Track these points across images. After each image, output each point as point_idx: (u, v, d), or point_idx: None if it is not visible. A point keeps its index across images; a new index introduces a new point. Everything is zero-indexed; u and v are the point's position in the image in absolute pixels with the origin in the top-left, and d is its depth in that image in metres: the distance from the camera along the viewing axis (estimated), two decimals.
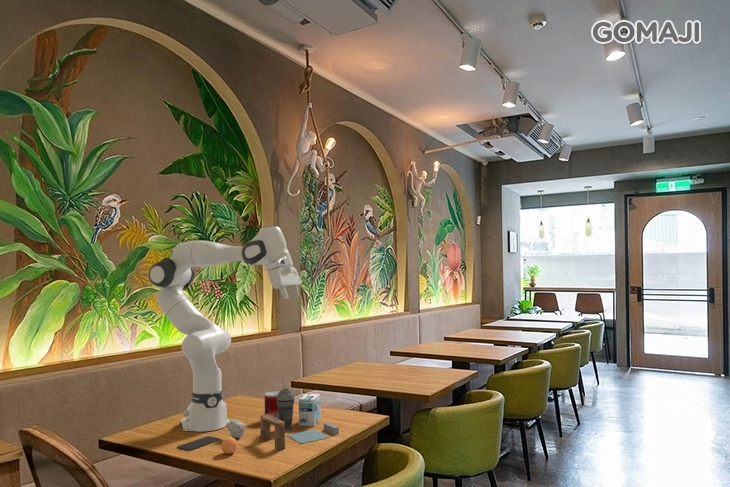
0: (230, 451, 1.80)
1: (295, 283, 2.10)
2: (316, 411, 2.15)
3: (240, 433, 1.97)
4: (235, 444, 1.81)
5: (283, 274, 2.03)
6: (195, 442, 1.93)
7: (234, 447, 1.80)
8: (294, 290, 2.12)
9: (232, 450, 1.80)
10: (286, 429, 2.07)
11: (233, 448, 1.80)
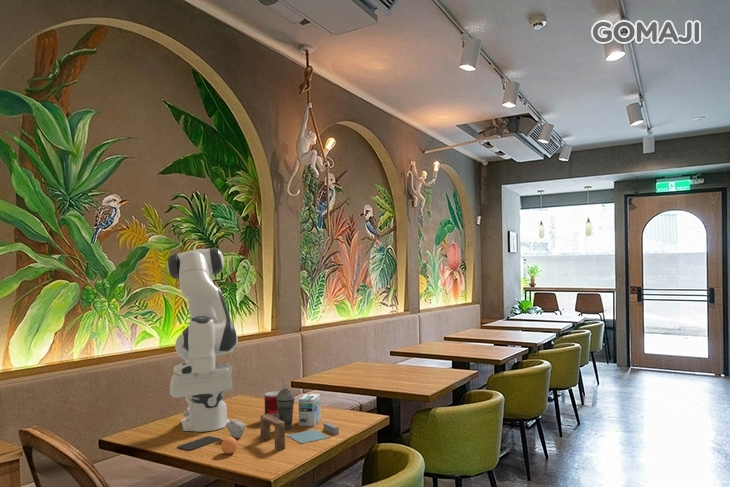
0: (230, 451, 1.80)
1: (213, 390, 1.78)
2: (316, 411, 2.15)
3: (240, 433, 1.97)
4: (235, 444, 1.81)
5: (189, 381, 1.74)
6: (195, 442, 1.93)
7: (234, 447, 1.80)
8: (213, 396, 1.80)
9: (232, 450, 1.80)
10: (286, 429, 2.07)
11: (233, 448, 1.80)
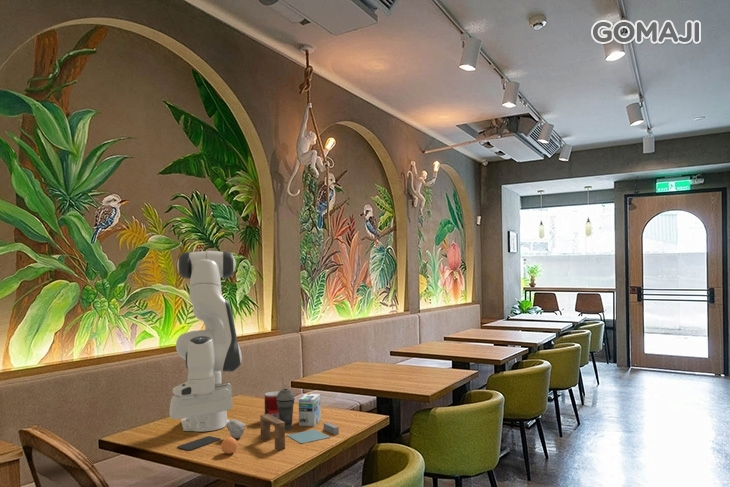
0: (230, 451, 1.80)
1: (214, 411, 1.77)
2: (316, 411, 2.15)
3: (240, 433, 1.97)
4: (235, 444, 1.81)
5: (189, 403, 1.73)
6: (195, 442, 1.93)
7: (234, 447, 1.80)
8: (205, 418, 1.78)
9: (232, 450, 1.80)
10: (286, 429, 2.07)
11: (233, 448, 1.80)
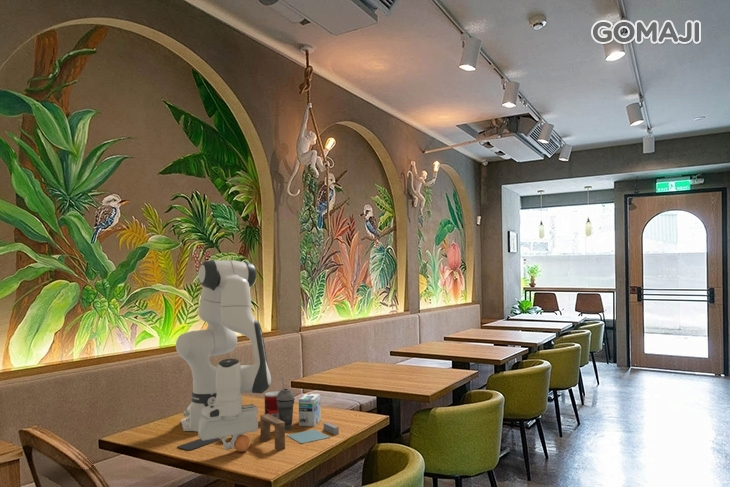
0: (240, 447, 1.81)
1: (240, 432, 1.82)
2: (316, 411, 2.15)
3: None
4: (247, 447, 1.83)
5: (217, 424, 1.78)
6: (195, 442, 1.93)
7: (245, 448, 1.82)
8: (232, 438, 1.83)
9: (242, 448, 1.81)
10: (286, 429, 2.07)
11: (244, 448, 1.82)
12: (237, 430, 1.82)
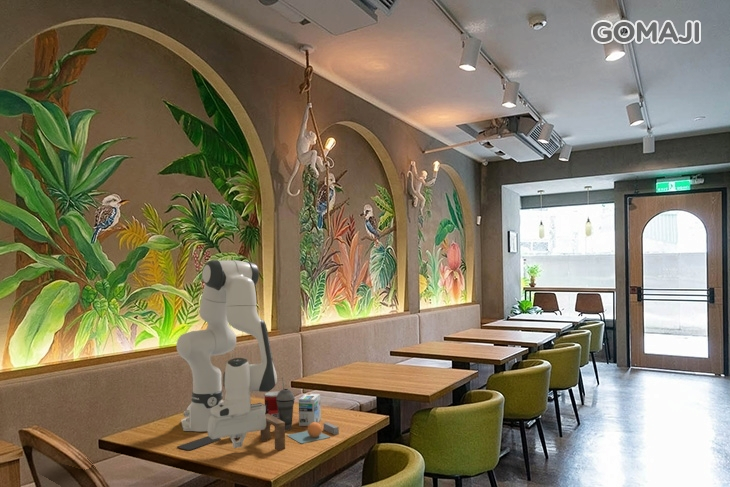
0: (320, 432, 1.97)
1: (249, 430, 1.84)
2: (316, 411, 2.15)
3: None
4: (317, 426, 1.97)
5: (227, 423, 1.80)
6: (195, 442, 1.93)
7: (319, 428, 1.97)
8: (241, 437, 1.85)
9: (320, 430, 1.97)
10: (286, 429, 2.07)
11: (319, 429, 1.97)
12: (246, 428, 1.84)
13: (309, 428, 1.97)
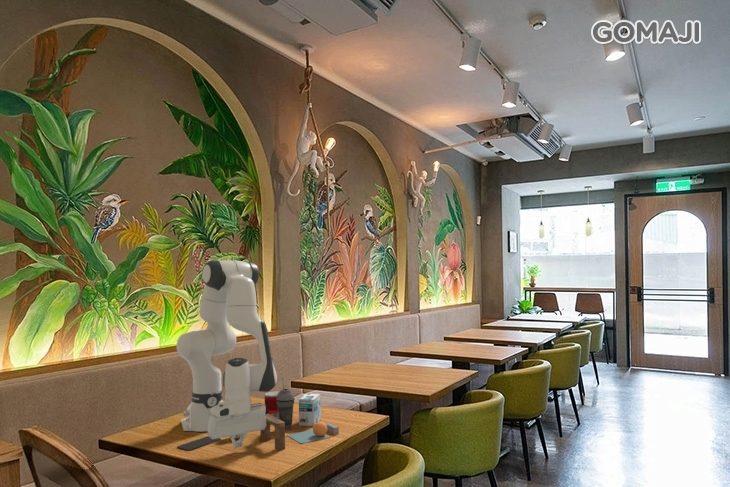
0: (322, 434, 1.97)
1: (249, 430, 1.84)
2: (316, 411, 2.15)
3: None
4: (326, 428, 1.98)
5: (227, 423, 1.80)
6: (195, 442, 1.93)
7: (326, 430, 1.98)
8: (241, 437, 1.85)
9: (324, 433, 1.98)
10: (286, 429, 2.07)
11: (325, 431, 1.98)
12: (246, 428, 1.84)
13: (320, 423, 1.98)
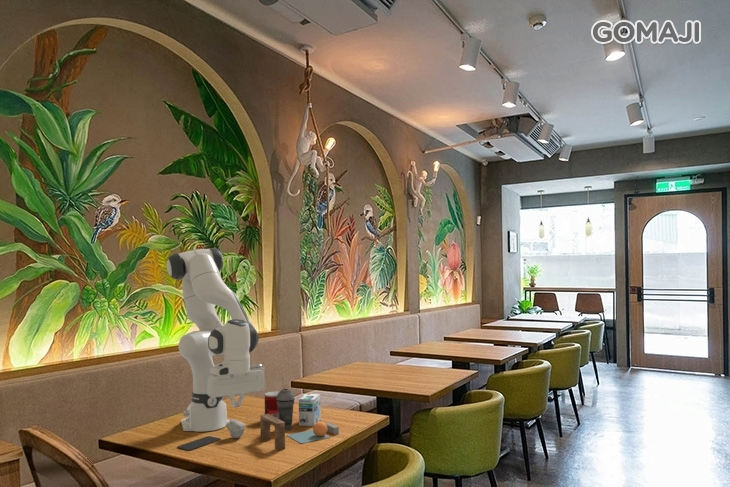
0: (322, 434, 1.97)
1: (248, 391, 1.85)
2: (316, 411, 2.15)
3: (240, 433, 1.97)
4: (326, 428, 1.98)
5: (226, 382, 1.81)
6: (195, 442, 1.93)
7: (326, 430, 1.98)
8: (240, 397, 1.86)
9: (324, 433, 1.98)
10: (286, 429, 2.07)
11: (325, 431, 1.98)
12: (245, 389, 1.85)
13: (320, 423, 1.98)
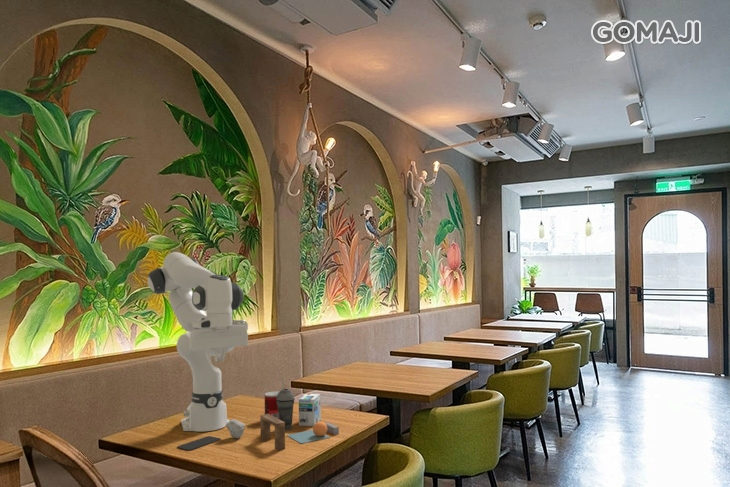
0: (322, 434, 1.97)
1: (231, 345, 1.86)
2: (316, 411, 2.15)
3: (240, 433, 1.97)
4: (326, 428, 1.98)
5: (208, 335, 1.82)
6: (195, 442, 1.93)
7: (326, 430, 1.98)
8: (223, 351, 1.87)
9: (324, 433, 1.98)
10: (286, 429, 2.07)
11: (325, 431, 1.98)
12: (228, 343, 1.86)
13: (320, 423, 1.98)
